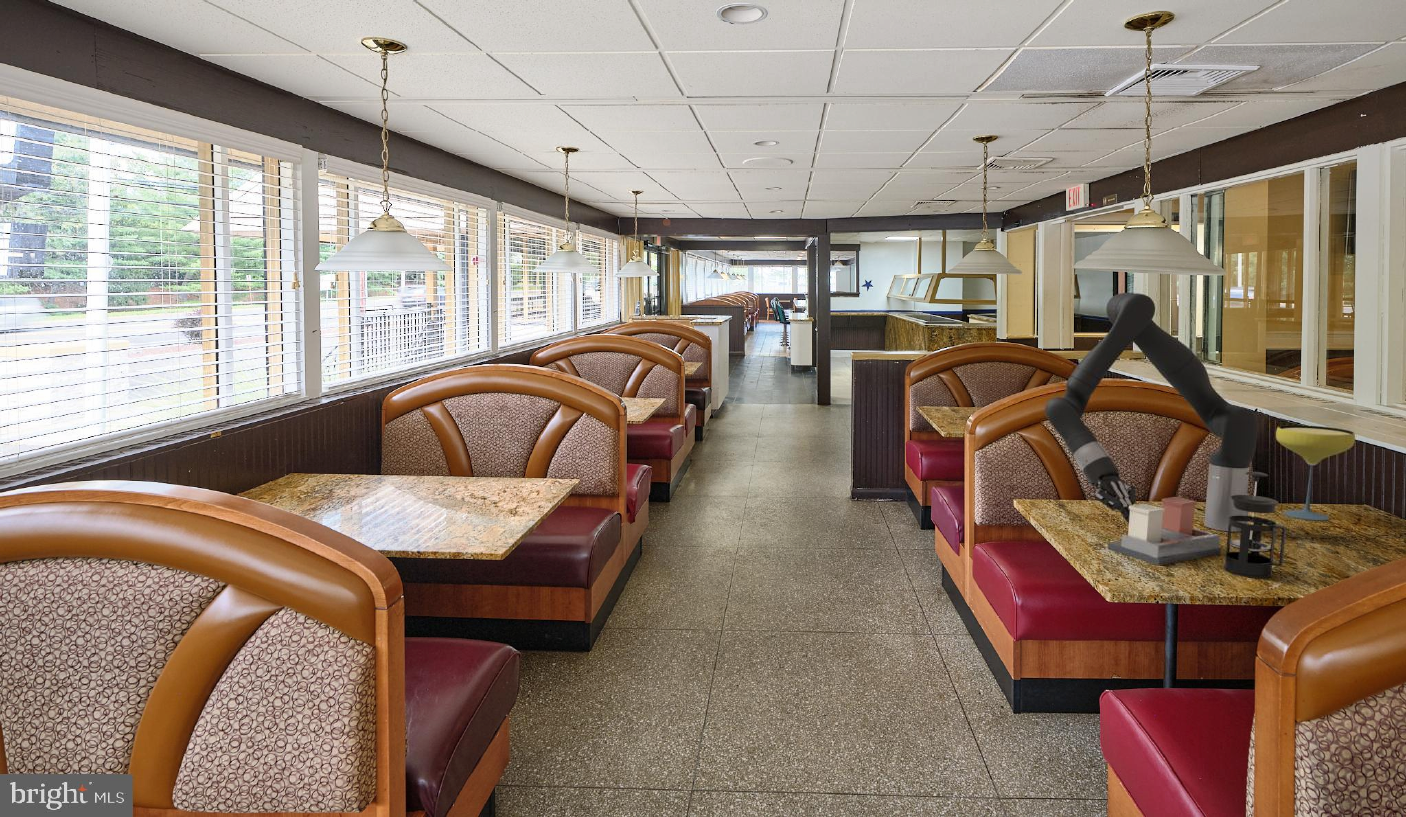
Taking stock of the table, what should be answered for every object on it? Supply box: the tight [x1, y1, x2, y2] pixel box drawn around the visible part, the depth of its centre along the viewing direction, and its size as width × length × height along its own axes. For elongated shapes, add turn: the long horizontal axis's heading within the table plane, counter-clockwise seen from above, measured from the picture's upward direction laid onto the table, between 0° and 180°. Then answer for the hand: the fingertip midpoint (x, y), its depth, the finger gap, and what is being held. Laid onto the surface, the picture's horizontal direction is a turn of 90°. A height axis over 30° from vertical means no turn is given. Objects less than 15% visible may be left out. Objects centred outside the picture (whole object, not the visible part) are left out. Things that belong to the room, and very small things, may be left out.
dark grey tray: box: [1107, 527, 1222, 566], centre depth 207 cm, size 14×22×4 cm, turn 115°
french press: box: [1223, 471, 1287, 579], centre depth 190 cm, size 12×9×23 cm
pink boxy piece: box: [1161, 496, 1197, 536], centre depth 211 cm, size 5×5×10 cm
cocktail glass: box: [1275, 424, 1356, 522], centre depth 240 cm, size 18×18×25 cm
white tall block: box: [1127, 503, 1164, 544], centre depth 204 cm, size 5×5×10 cm
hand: (1134, 522), depth 207 cm, fingers closed
